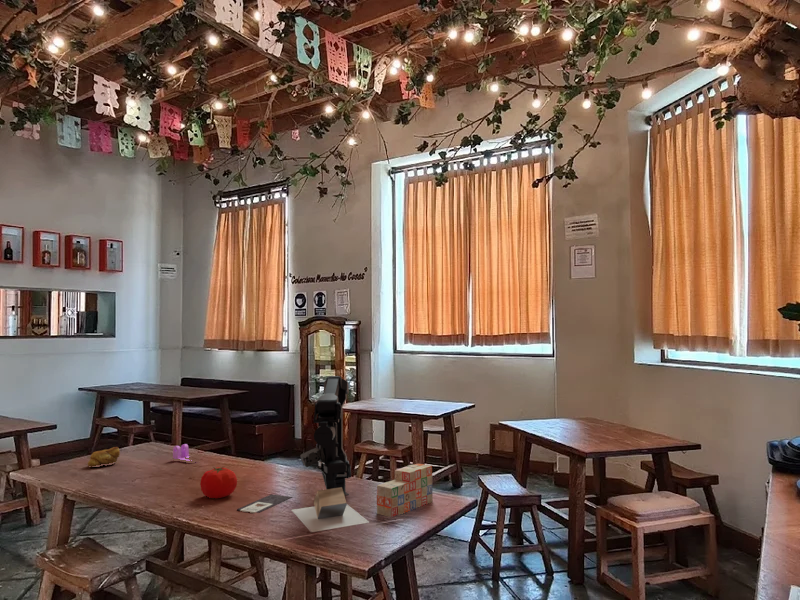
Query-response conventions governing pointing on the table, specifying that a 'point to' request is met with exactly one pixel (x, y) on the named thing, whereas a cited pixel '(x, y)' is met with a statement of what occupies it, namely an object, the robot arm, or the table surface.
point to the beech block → (330, 503)
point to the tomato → (218, 482)
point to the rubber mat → (328, 519)
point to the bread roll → (104, 457)
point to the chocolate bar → (264, 503)
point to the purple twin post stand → (181, 452)
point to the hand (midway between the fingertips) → (328, 490)
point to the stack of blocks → (405, 490)
